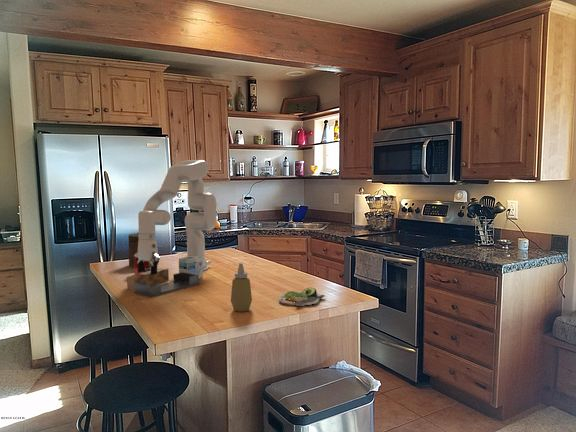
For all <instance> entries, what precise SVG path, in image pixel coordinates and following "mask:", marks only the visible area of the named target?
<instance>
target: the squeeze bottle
mask: <svg viewBox="0 0 576 432" xmlns="http://www.w3.org/2000/svg"><path fill="white" fill-rule="evenodd" d="M251 289H252V288H251V280H250V278H249V277H248V272H247V271H245V268H244V263H243V262H240V263H239V264H238V268H237V271H236V272H235V273H234V278H232V283H231V294H230V303H231V306H232V308H233V311H235V312H243V313H244V312H248V311H249V310H250V308H251V306H252V305H251V304H252V302H253V298H252V290H251Z"/></svg>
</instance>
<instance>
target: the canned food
mask: <svg viewBox="0 0 576 432" xmlns="http://www.w3.org/2000/svg"><path fill="white" fill-rule="evenodd" d="M143 263H144V271H143V272H147V271H151V267H150V262H148V261H144V262H143ZM134 266H135V268H134V275H136V274H139V273H143V272H138V263H137V260H136V255H134Z"/></svg>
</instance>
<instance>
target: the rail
mask: <svg viewBox="0 0 576 432" xmlns="http://www.w3.org/2000/svg"><path fill="white" fill-rule="evenodd" d="M169 279H170V278H169V267H168V268H166V267H159V268H157V274H153V275H151V270H150V271H147V272H143V273H139V274H136V275H135V274H132V275H128V276H126V289H127V290H131V291H134V283H136V282H141V281H146V285H148V286H153V285H157V284H160V283H163V282H167V281H169Z"/></svg>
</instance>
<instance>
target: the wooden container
mask: <svg viewBox="0 0 576 432" xmlns="http://www.w3.org/2000/svg"><path fill="white" fill-rule="evenodd" d="M127 236H128V266H129V267H131V268H134V269H135V266H134V255H135V254H136V253H137V252H138V242H139V228H138V232H136V233H130V234H128V235H127ZM153 263H154V261H153ZM151 266H152V265H151V263H150V268H151Z"/></svg>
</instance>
